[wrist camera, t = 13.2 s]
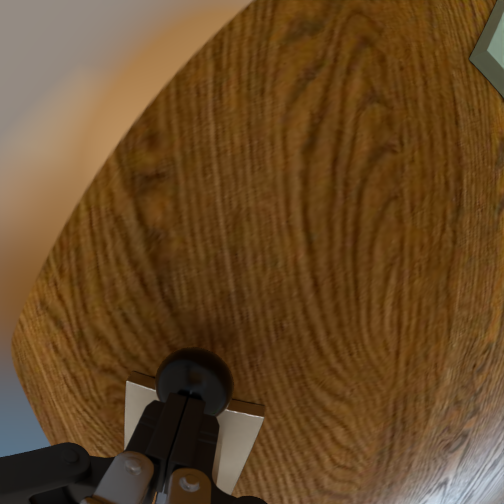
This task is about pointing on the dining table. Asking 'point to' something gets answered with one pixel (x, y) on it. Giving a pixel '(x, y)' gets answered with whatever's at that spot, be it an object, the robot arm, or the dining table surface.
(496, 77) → the control block
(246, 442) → the bracket
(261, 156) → the dining table surface
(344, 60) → the dining table surface
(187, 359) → the lever
